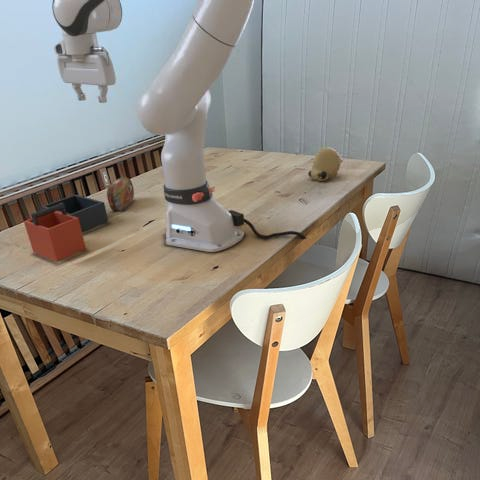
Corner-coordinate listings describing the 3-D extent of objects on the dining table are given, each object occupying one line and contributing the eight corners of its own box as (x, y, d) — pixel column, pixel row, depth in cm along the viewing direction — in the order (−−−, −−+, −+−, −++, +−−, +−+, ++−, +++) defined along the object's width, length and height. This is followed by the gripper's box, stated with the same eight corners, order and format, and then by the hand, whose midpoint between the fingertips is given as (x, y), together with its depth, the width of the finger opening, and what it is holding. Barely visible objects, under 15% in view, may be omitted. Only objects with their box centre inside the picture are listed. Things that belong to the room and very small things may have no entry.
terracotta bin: (86, 251, 130) (75, 206, 123) (58, 264, 124) (44, 218, 118) (62, 242, 136) (50, 199, 129) (34, 254, 130) (20, 210, 124)
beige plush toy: (314, 185, 176) (298, 170, 169) (329, 155, 176) (314, 139, 168) (334, 190, 170) (319, 175, 162) (350, 159, 169) (336, 142, 161)
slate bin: (108, 223, 146) (104, 202, 142) (75, 237, 138) (70, 215, 135) (80, 215, 154) (75, 194, 150) (47, 228, 146) (41, 206, 142)
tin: (118, 215, 152) (112, 188, 148) (109, 214, 153) (103, 188, 148) (136, 198, 164) (131, 173, 160) (127, 198, 165) (122, 173, 160)
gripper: (116, 45, 128) (125, 102, 136) (68, 45, 139) (79, 97, 146) (97, 47, 124) (107, 105, 132) (49, 47, 135) (62, 101, 142)
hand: (92, 101), depth 139 cm, fingers open, 8 cm apart
